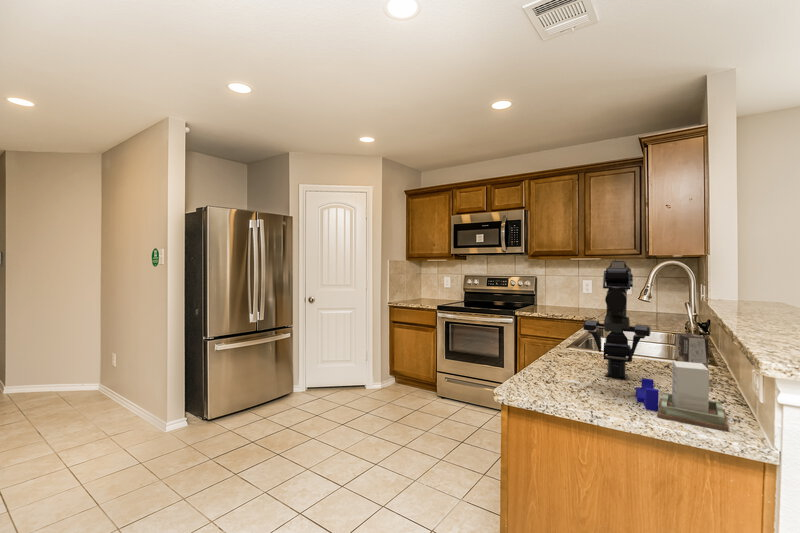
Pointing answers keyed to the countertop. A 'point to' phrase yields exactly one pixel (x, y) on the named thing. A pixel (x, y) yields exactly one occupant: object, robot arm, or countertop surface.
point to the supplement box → (690, 386)
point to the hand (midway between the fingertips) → (615, 354)
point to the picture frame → (694, 414)
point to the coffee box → (692, 348)
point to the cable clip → (648, 394)
